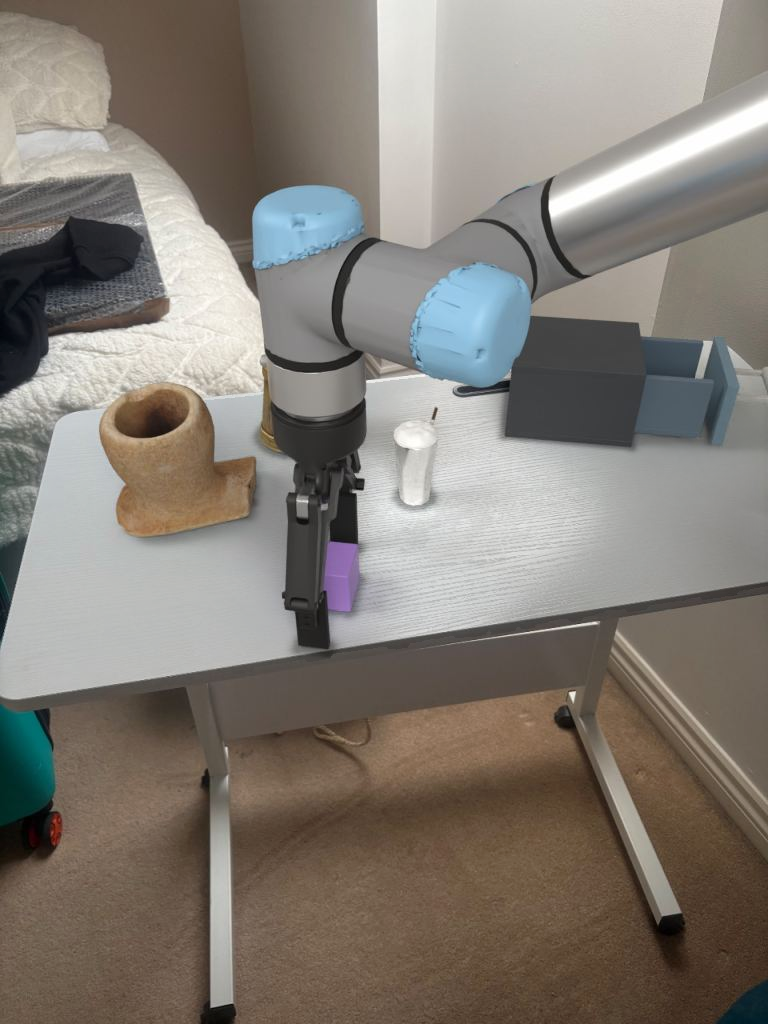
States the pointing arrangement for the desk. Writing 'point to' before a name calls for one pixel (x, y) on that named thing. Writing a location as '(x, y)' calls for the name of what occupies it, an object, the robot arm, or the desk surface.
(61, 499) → the desk surface
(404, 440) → the milkshake
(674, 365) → the drawer
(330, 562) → the cube
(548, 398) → the cabinet
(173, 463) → the stone cup
